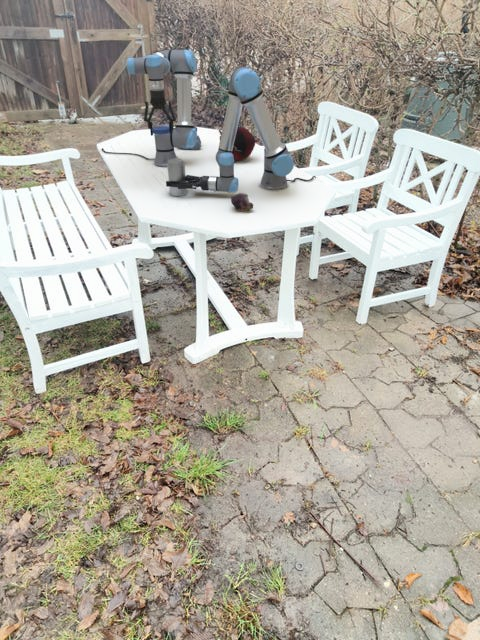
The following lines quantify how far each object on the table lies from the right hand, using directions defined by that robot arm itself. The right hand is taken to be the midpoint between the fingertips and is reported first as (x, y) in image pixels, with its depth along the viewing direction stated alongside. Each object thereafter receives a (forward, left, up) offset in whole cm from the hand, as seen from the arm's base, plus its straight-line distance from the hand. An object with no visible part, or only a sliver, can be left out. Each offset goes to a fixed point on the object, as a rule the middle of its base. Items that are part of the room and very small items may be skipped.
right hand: (169, 180), depth 243 cm
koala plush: (-23, -97, -7) cm, 100 cm away
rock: (-32, +34, -7) cm, 47 cm away
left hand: (+1, -17, +20) cm, 26 cm away
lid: (+1, -17, +23) cm, 29 cm away
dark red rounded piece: (-50, -57, -7) cm, 76 cm away
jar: (-4, +2, -7) cm, 8 cm away
